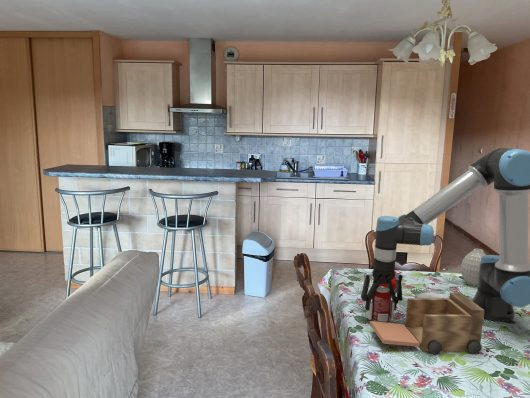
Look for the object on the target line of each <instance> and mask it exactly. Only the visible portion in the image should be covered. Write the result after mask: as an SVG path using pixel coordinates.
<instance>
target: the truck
mask: <svg viewBox="0 0 530 398" xmlns="http://www.w3.org/2000/svg"><path fill="white" fill-rule="evenodd" d="M406 303H407V304H406V313H405V324H404V325H405V327H406V328H407V329H408V330H409V331H410V332H411V334H412V335H413V336H414V337H415V338H416V339H417V341H418V342H419V343H420V345H419V347H418V348H419V350H420V351H421V352H430V353H431V354H432V355H438V354H440V353H441V352H470V353H471V354H474V355H476V354H477V355H478V354H479V353H481V351H482V349H483V346H482V344H481V341H482V333H483V327H484V326H483V325H484V319H485V318H484V309H482V308H481V307H479V306H478V305H477V304H475V303H474V302H473V301H472V300H471V299H470V298H468V297H467V296H466V295H465V294H463V293H462V292H449V297H447V298H445V297H443V298H415V297H414V298H412V297H411V298H410V297H409V298H407V302H406Z"/></svg>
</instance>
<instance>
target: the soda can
mask: <svg viewBox="0 0 530 398" xmlns="http://www.w3.org/2000/svg"><path fill="white" fill-rule="evenodd" d="M391 300H392V297H391V293H390V289H389V288H387V287H382V286H379V287H378V288H377V290H376V292H375V294H374V296H373V298H372V300H371V302H372V316H371V320H372V321H375V322H385V323H389V321H390V320H391V319H390V307H391Z"/></svg>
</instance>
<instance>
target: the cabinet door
mask: <svg viewBox="0 0 530 398" xmlns="http://www.w3.org/2000/svg"><path fill="white" fill-rule="evenodd" d="M369 325H370V327H371V328H372V330H373V331H374V332H375V334H376V335H377V337H378V338H379V340H380V341H381V343H382V344H387V345H396V346H397V345H398V346H406V347H407V346H408V347H416V348H419V345H420V343H419V342H418V341H417V339H416V338H415V337H414V336H413V335H412V334H411V332H410V331H409V330H408V329H407V328H406V327H405V324H402V323H396V322H395V323H394V322H393V323H392V322H376V321H374V320H370V321H369Z"/></svg>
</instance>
